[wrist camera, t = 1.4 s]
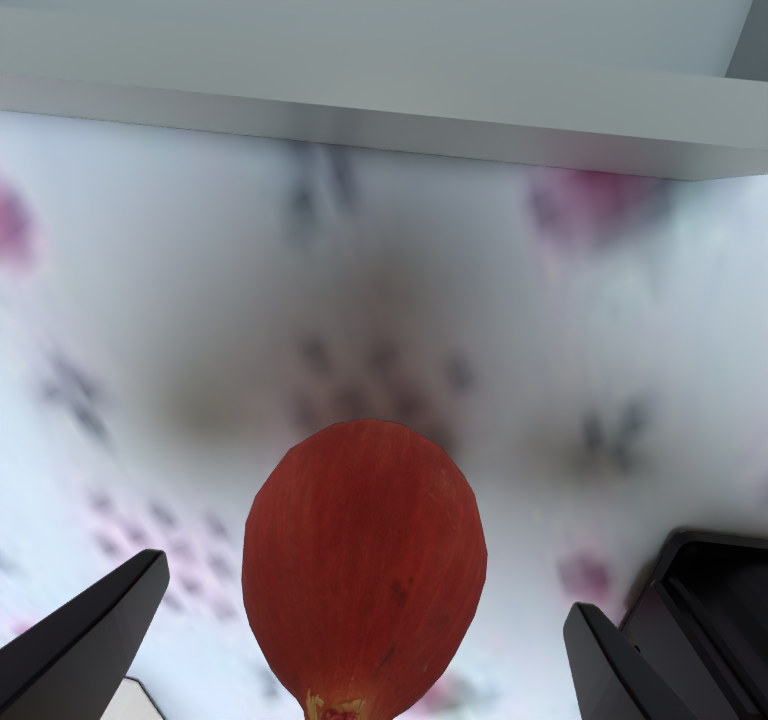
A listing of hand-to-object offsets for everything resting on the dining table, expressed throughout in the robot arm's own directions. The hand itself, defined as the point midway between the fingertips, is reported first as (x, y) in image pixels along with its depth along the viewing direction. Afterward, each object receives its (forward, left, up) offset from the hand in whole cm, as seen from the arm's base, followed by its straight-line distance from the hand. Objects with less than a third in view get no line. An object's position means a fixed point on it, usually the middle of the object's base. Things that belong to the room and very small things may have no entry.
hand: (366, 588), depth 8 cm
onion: (0, 0, -5) cm, 5 cm away
